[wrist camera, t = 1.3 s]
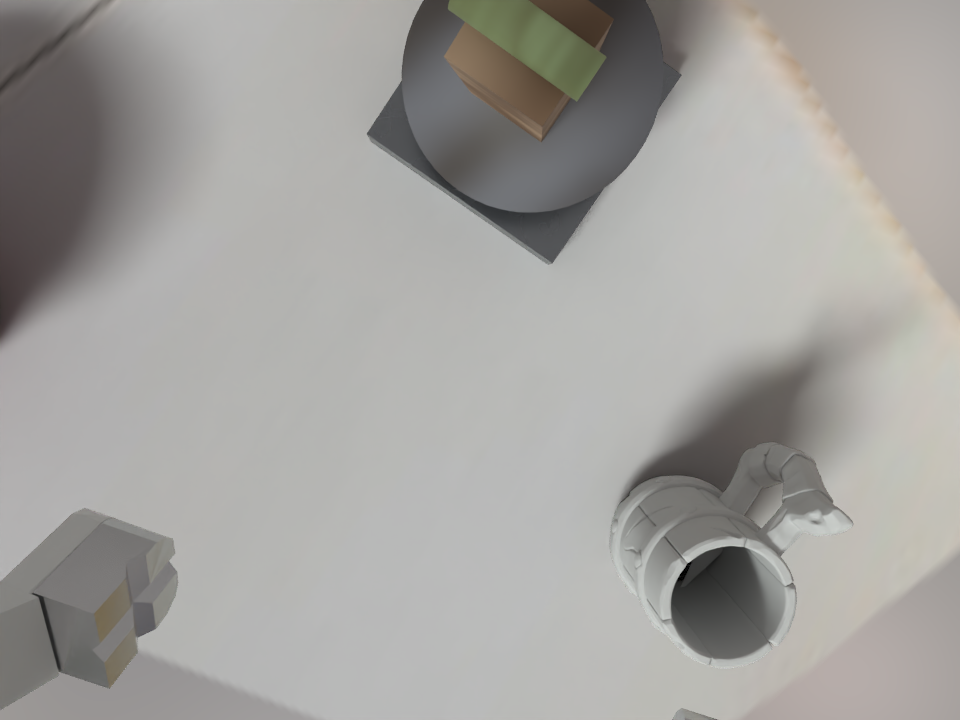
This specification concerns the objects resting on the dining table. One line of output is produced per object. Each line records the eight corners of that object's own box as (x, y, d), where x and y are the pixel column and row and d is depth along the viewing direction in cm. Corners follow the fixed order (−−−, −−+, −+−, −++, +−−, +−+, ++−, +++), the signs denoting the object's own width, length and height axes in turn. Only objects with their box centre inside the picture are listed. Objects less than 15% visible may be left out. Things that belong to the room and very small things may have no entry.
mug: (577, 540, 43) (620, 635, 31) (712, 389, 43) (808, 427, 31) (673, 621, 44) (751, 744, 32) (807, 473, 43) (938, 542, 31)
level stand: (371, 141, 41) (357, 119, 36) (493, -44, 40) (497, -95, 35) (548, 264, 42) (560, 260, 36) (670, 85, 41) (701, 54, 36)
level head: (359, 119, 36) (265, 86, 24) (498, -113, 33) (474, -290, 21) (560, 259, 37) (571, 298, 24) (712, 44, 34) (812, -35, 22)
